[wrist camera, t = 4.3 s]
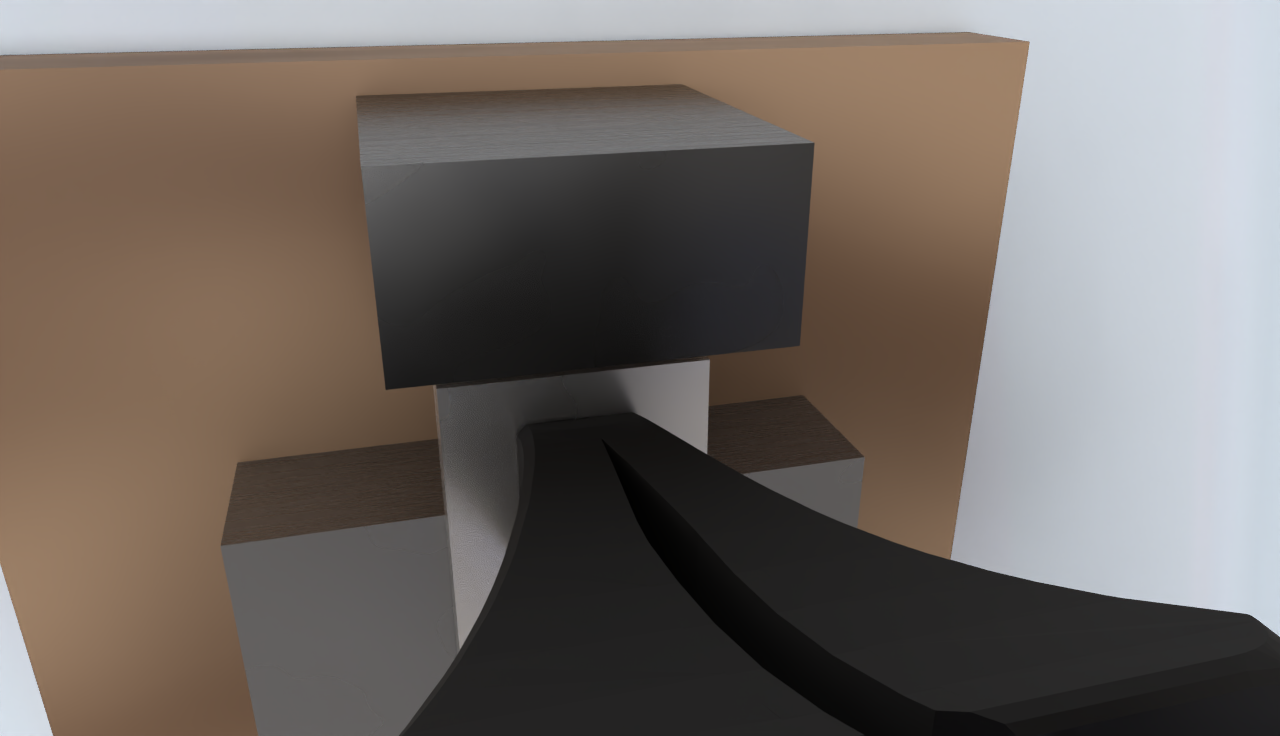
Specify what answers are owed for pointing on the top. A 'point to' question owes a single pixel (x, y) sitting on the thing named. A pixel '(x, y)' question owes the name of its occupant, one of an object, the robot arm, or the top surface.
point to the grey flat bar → (488, 455)
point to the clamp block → (519, 355)
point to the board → (347, 315)
